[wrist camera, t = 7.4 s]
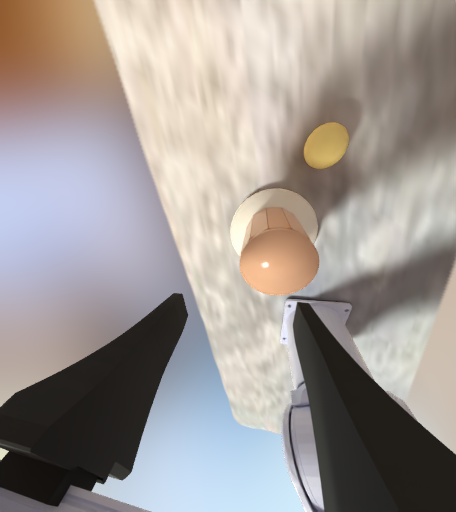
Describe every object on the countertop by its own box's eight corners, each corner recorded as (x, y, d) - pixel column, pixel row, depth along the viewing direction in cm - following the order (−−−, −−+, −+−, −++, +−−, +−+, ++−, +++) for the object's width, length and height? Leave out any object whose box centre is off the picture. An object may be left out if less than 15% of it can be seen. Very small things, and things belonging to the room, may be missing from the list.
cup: (296, 256, 18) (311, 297, 13) (246, 255, 19) (241, 293, 14) (303, 205, 16) (327, 229, 10) (245, 208, 17) (237, 230, 11)
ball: (334, 167, 14) (349, 168, 12) (298, 169, 15) (305, 170, 12) (343, 124, 13) (363, 114, 10) (303, 128, 14) (312, 120, 11)
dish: (307, 267, 20) (309, 270, 19) (233, 264, 21) (232, 267, 21) (324, 185, 15) (327, 186, 15) (229, 190, 17) (227, 191, 16)
